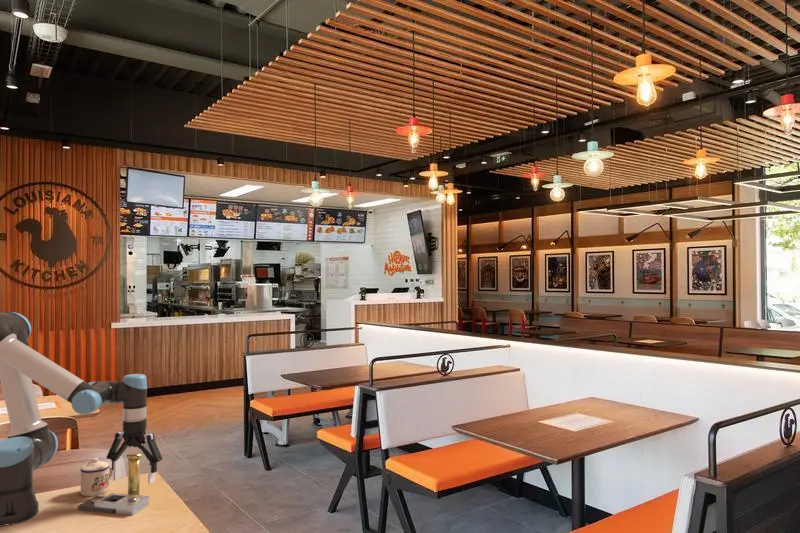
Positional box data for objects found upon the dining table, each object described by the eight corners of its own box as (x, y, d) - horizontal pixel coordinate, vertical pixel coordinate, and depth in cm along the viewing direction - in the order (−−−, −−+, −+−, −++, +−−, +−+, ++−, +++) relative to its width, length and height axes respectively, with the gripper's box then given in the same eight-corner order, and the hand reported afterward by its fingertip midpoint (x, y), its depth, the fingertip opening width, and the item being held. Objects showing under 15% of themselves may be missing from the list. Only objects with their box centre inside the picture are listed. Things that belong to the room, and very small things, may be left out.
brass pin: (122, 496, 193) (123, 456, 193) (132, 491, 197) (132, 451, 198) (135, 498, 192) (135, 456, 192) (144, 492, 196) (144, 452, 197)
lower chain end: (78, 509, 182) (78, 503, 182) (96, 500, 190) (96, 494, 190) (116, 513, 179) (116, 507, 179) (132, 503, 187) (132, 497, 187)
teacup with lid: (92, 498, 191) (93, 464, 192) (73, 494, 195) (74, 460, 195) (121, 486, 203) (122, 454, 203) (103, 483, 206) (103, 451, 206)
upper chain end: (94, 511, 181) (94, 500, 181) (111, 501, 188) (112, 491, 188) (132, 515, 178) (132, 504, 178) (148, 505, 186) (148, 494, 186)
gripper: (173, 418, 196) (172, 479, 196) (111, 415, 202) (110, 474, 201) (159, 423, 189) (159, 487, 189) (95, 420, 194) (95, 481, 194)
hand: (134, 480), depth 195 cm, fingers open, 13 cm apart
